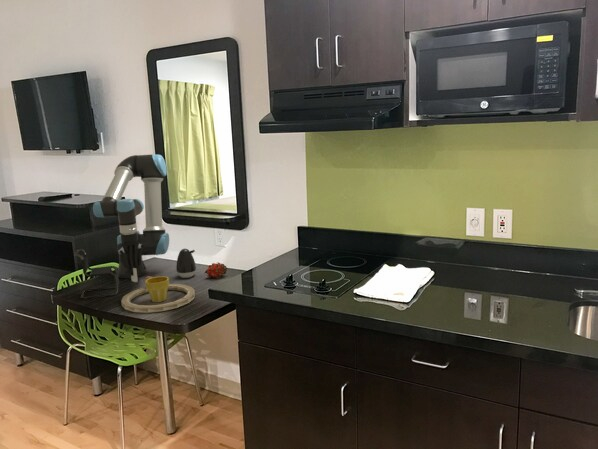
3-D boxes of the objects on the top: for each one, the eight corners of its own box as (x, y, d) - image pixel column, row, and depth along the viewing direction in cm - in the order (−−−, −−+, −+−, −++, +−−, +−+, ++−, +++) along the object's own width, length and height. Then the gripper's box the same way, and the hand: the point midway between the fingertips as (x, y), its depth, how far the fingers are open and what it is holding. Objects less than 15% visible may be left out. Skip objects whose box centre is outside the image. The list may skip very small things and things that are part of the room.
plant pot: (146, 298, 228) (143, 278, 226) (168, 294, 232) (166, 274, 230) (148, 305, 218) (146, 284, 216) (172, 301, 222) (170, 280, 220)
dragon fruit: (229, 278, 257) (207, 285, 253) (225, 266, 262) (203, 272, 259) (228, 269, 250) (205, 275, 247) (224, 256, 256) (201, 263, 252)
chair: (82, 291, 241) (76, 248, 236) (119, 287, 246) (114, 244, 241) (79, 300, 229) (73, 255, 224) (118, 295, 234) (113, 250, 229)
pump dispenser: (194, 279, 253) (192, 250, 250) (174, 279, 254) (172, 251, 251) (199, 273, 263) (196, 246, 260) (179, 274, 264) (177, 246, 261)
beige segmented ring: (115, 297, 230) (113, 283, 228) (181, 283, 246) (179, 270, 245) (132, 318, 203) (130, 302, 202) (205, 301, 220) (203, 286, 218)
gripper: (121, 236, 218) (127, 286, 223) (145, 230, 228) (151, 278, 233) (111, 234, 223) (117, 283, 228) (136, 229, 233) (141, 276, 238)
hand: (134, 281), depth 231 cm, fingers closed
